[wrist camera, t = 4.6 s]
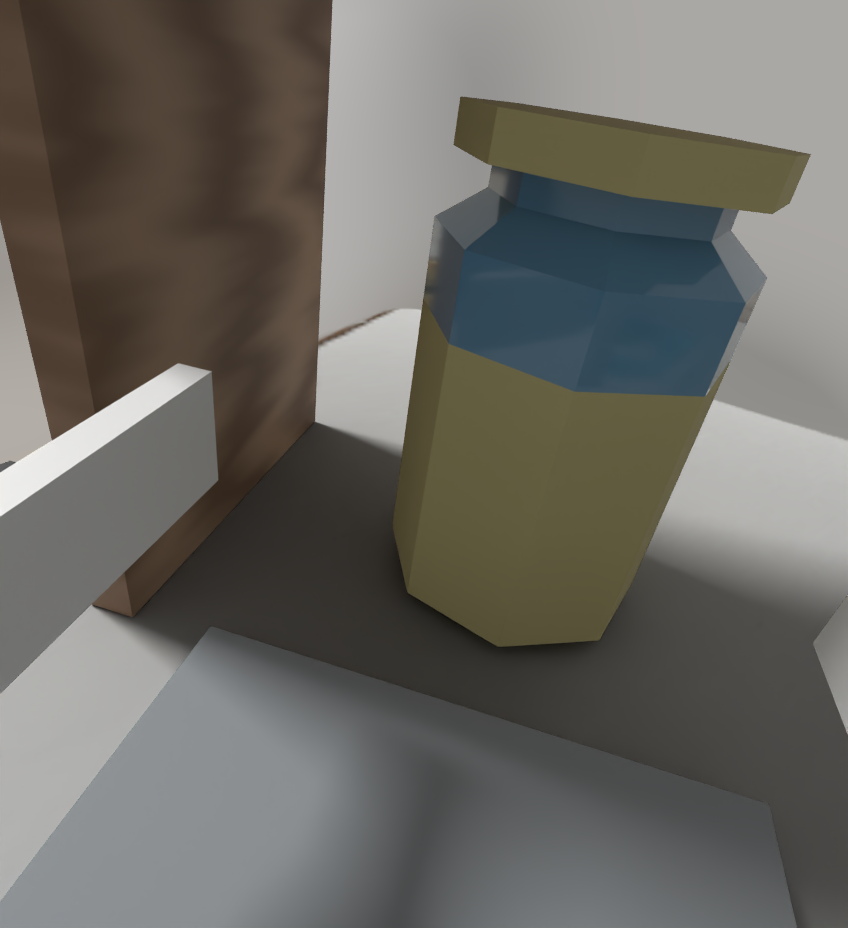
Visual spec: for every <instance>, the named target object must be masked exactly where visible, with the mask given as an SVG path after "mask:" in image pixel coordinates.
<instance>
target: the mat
mask: <svg viewBox="0 0 848 928" xmlns="http://www.w3.org/2000/svg"><path fill="white" fill-rule="evenodd" d="M0 928H797V925H796V921H795V916H794V912H793V908H792V903H791V899H790V894H789V890H788V885H787V881H786V877H785V872H784V868H783V863H782V859H781V855H780V850H779V846H778V841H777V837H776V832H775V828H774V824H773V819H772V815H771V810H770V806H769V804H767V803H764V802H761V801H758V800H755V799H752V798H749V797H745V796H742V795H739V794H736V793H733V792H730V791H727V790H723V789H720V788H717V787H714V786H711V785H708V784H705V783H702V782H698V781H695V780H692V779H689V778H686V777H683V776H680V775H676V774H673V773H670V772H667V771H664V770H661V769H658V768H655V767H651V766H648V765H645V764H642V763H639V762H636V761H633V760H629V759H626V758H623V757H620V756H617V755H614V754H611V753H608V752H604V751H601V750H598V749H595V748H592V747H589V746H586V745H583V744H579V743H576V742H573V741H570V740H567V739H564V738H561V737H557V736H554V735H551V734H548V733H545V732H542V731H539V730H536V729H532V728H529V727H526V726H523V725H520V724H517V723H514V722H510V721H507V720H504V719H501V718H498V717H495V716H492V715H489V714H485V713H482V712H479V711H476V710H473V709H470V708H467V707H463V706H460V705H457V704H454V703H451V702H448V701H445V700H442V699H438V698H435V697H432V696H429V695H426V694H423V693H420V692H417V691H413V690H410V689H407V688H404V687H401V686H398V685H395V684H391V683H388V682H385V681H382V680H379V679H376V678H373V677H370V676H366V675H363V674H360V673H357V672H354V671H351V670H348V669H344V668H341V667H338V666H335V665H332V664H329V663H326V662H323V661H319V660H316V659H313V658H310V657H307V656H304V655H301V654H298V653H294V652H291V651H288V650H285V649H282V648H279V647H276V646H272V645H269V644H266V643H263V642H260V641H257V640H254V639H251V638H247V637H244V636H241V635H238V634H235V633H232V632H229V631H225V630H222V629H219V628H216V627H213V626H210V627H209V629H208V630H207V631H206V633H205V634H204V635H203V637H202V638H201V639H200V640H199V642H198V643H197V644H196V646H195V647H194V648H193V650H192V651H191V652H190V654H189V655H188V656H187V658H186V659H185V660H184V661H183V663H182V664H181V665H180V667H179V668H178V669H177V671H176V672H175V673H174V675H173V676H172V677H171V678H170V680H169V681H168V682H167V684H166V685H165V686H164V688H163V689H162V690H161V692H160V693H159V694H158V696H157V697H156V698H155V699H154V701H153V702H152V703H151V705H150V706H149V707H148V709H147V710H146V711H145V713H144V714H143V715H142V716H141V718H140V719H139V720H138V722H137V723H136V724H135V726H134V727H133V728H132V730H131V731H130V732H129V734H128V735H127V736H126V737H125V739H124V740H123V741H122V743H121V744H120V745H119V747H118V748H117V749H116V751H115V752H114V753H113V755H112V756H111V757H110V758H109V760H108V761H107V762H106V764H105V765H104V766H103V768H102V769H101V770H100V772H99V773H98V774H97V775H96V777H95V778H94V779H93V781H92V782H91V783H90V785H89V786H88V787H87V789H86V790H85V791H84V793H83V794H82V795H81V796H80V798H79V799H78V800H77V802H76V803H75V804H74V806H73V807H72V808H71V810H70V811H69V812H68V813H67V815H66V816H65V817H64V819H63V820H62V821H61V823H60V824H59V825H58V827H57V828H56V829H55V831H54V832H53V833H52V834H51V836H50V837H49V838H48V840H47V841H46V842H45V844H44V845H43V846H42V848H41V849H40V850H39V852H38V853H37V854H36V855H35V857H34V858H33V859H32V861H31V862H30V863H29V865H28V866H27V867H26V869H25V870H24V871H23V872H22V874H21V875H20V876H19V878H18V879H17V880H16V882H15V883H14V884H13V886H12V887H11V888H10V890H9V891H8V892H7V893H6V895H5V896H4V897H3V899H2V900H1V901H0Z"/></svg>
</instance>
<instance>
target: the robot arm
mask: <svg viewBox="0 0 848 928" xmlns="http://www.w3.org/2000/svg"><path fill="white" fill-rule="evenodd" d="M217 481H218V467H217V451H216V435H215V419H214V403H213V387H212V371H208V370H204V369H200V368H195V367H191V366H187V365H183V364H179V363H178V364H176V365H174V366H173V367H171V368H170V369H168V370H166V371H165V372H163V373H161V374H160V375H158V376H157V377H155V378H153V379H152V380H150V381H148V382H147V383H145V384H144V385H142V386H140V387H139V388H137V389H135V390H134V391H132V392H130V393H129V394H127V395H126V396H124V397H122V398H121V399H119V400H117V401H116V402H114V403H113V404H111V405H109V406H108V407H106V408H104V409H103V410H101V411H100V412H98V413H96V414H95V415H93V416H91V417H90V418H88V419H86V420H85V421H83V422H82V423H80V424H78V425H77V426H75V427H73V428H72V429H70V430H69V431H67V432H65V433H64V434H62V435H60V436H59V437H57V438H56V439H54V440H52V441H51V442H49V443H48V444H46V445H44V446H42V447H41V448H39V449H38V450H36V451H35V452H33V453H31V454H29V455H28V456H26V457H25V458H23V459H21V460H20V461H18V462H12V461H9V462H5V463H3V464H0V693H1V692H2V691H4V690H5V689H6V688H7V687H8V686H9V685H10V684H11V683H12V682H13V681H14V680H15V679H16V678H17V677H18V676H19V675H20V674H21V673H22V672H23V671H24V670H25V669H26V668H27V667H28V666H29V665H30V664H31V663H32V662H33V661H34V660H35V659H36V658H37V657H38V656H39V655H40V654H41V653H42V652H43V651H44V650H45V649H46V648H47V647H48V646H49V645H50V644H51V643H53V642H54V641H55V640H56V639H57V638H58V637H59V636H60V635H61V634H62V633H63V632H64V631H65V630H66V629H67V628H68V627H69V626H70V625H71V624H72V623H73V622H74V621H75V620H76V619H77V618H78V617H79V616H80V615H81V614H82V613H83V612H84V611H85V610H86V609H87V608H88V607H89V606H90V605H91V604H92V603H93V602H94V601H95V600H96V599H97V598H98V597H99V596H101V595H102V594H103V593H104V592H105V591H106V590H107V589H108V588H109V587H110V586H111V585H112V584H113V583H114V582H115V581H116V580H117V579H118V578H119V577H120V576H121V575H122V574H123V573H124V572H125V571H126V570H127V569H128V568H129V567H130V566H131V565H132V564H133V563H134V562H135V561H136V560H137V559H138V558H139V557H140V556H141V555H142V554H143V553H144V552H145V551H146V550H147V549H148V548H150V547H151V546H152V545H153V544H154V543H155V542H156V541H157V540H158V539H159V538H160V537H161V536H162V535H163V534H164V533H165V532H166V531H167V530H168V529H169V528H170V527H171V526H172V525H173V524H174V523H175V522H176V521H177V520H178V519H179V518H180V517H181V516H182V515H183V514H184V513H185V512H186V511H187V510H188V509H189V508H190V507H191V506H192V505H193V504H194V503H195V502H196V501H198V500H199V499H200V498H201V497H202V496H203V495H204V494H205V493H206V492H207V491H208V490H209V489H210V488H211V487H212V486H213V485H214V484H215V483H216V482H217ZM813 645H814V648H815V651H816V653H817V656H818V658H819V661H820V664H821V666H822V669H823V671H824V674H825V677H826V679H827V682H828V685H829V687H830V690H831V692H832V695H833V698H834V700H835V703H836V705H837V708H838V711H839V713H840V716H841V718H842V721H843V724H844V726H845V729H846V732H847V734H848V595H847V596H846V598H845V599H844V601H843V602H842V603H841V605H840V606H839V608H838V609H837V610H836V612H835V613H834V614H833V616H832V617H831V619H830V620H829V621H828V623H827V624H826V625H825V627H824V628H823V630H822V631H821V632H820V634H819V635H818V637H817V638H816V639H815V641H814V642H813Z"/></svg>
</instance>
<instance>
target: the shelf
mask: <svg viewBox="0 0 848 928" xmlns="http://www.w3.org/2000/svg"><path fill="white" fill-rule="evenodd" d="M331 21H332V0H0V221H1V225H2V229H3V234H4V238H5V242H6V246H7V251H8V255H9V259H10V263H11V268H12V272H13V276H14V280H15V285H16V289H17V293H18V297H19V301H20V306H21V310H22V314H23V319H24V323H25V327H26V331H27V336H28V340H29V344H30V348H31V353H32V357H33V361H34V365H35V369H36V374H37V378H38V382H39V387H40V390H41V395H42V400H43V404H44V408H45V412H46V417H47V421H48V425H49V429H50V433H51V438H52V440H54V439H56V438H57V437H59V436H60V435H62V434H64V433H65V432H67V431H69V430H70V429H72V428H73V427H75V426H77V425H78V424H80V423H82V422H83V421H85V420H86V419H88V418H90V417H91V416H93V415H95V414H96V413H98V412H100V411H101V410H103V409H104V408H106V407H108V406H109V405H111V404H113V403H114V402H116V401H117V400H119V399H121V398H122V397H124V396H126V395H127V394H129V393H130V392H132V391H134V390H135V389H137V388H139V387H140V386H142V385H144V384H145V383H147V382H148V381H150V380H152V379H153V378H155V377H157V376H158V375H160V374H161V373H163V372H165V371H166V370H168V369H170V368H171V367H173V366H174V365H176V364H178V363H179V364H183V365H187V366H191V367H195V368H200V369H204V370H208V371H212V387H213V403H214V419H215V435H216V451H217V467H218V481H217V482H216V483H215V484H214V485H213V486H212V487H211V488H210V489H209V490H208V491H207V492H206V493H205V494H204V495H203V496H202V497H201V498H200V499H199V500H198V501H196V502H195V503H194V504H193V505H192V506H191V507H190V508H189V509H188V510H187V511H186V512H185V513H184V514H183V515H182V516H181V517H180V518H179V519H178V520H177V521H176V522H175V523H174V524H173V525H172V526H171V527H170V528H169V529H168V530H167V531H166V532H165V533H164V534H163V535H162V536H161V537H160V538H159V539H158V540H157V541H156V542H155V543H154V544H153V545H152V546H151V547H150V548H148V549H147V550H146V551H145V552H144V553H143V554H142V555H141V556H140V557H139V558H138V559H137V560H136V561H135V562H134V563H133V564H132V565H131V566H130V567H129V568H128V569H127V570H126V571H125V572H124V573H123V574H122V575H121V576H120V577H119V578H118V579H117V580H116V581H115V582H114V583H113V584H112V585H111V586H110V587H109V588H108V589H107V590H106V591H105V592H104V593H103V594H102V595H101V596H99V597H98V598H97V599H96V600H95V601H94V602H93V603H92V605H95V606H98V607H102V608H105V609H108V610H111V611H114V612H117V613H120V614H123V615H126V616H129V617H132V618H133V617H134V616H135V615H136V613H137V612H138V611H139V610H140V609H141V608H142V607H143V606H144V605H145V604H146V603H147V602H148V600H149V599H150V598H151V597H152V596H153V595H154V594H155V593H156V592H157V591H158V590H159V589H160V588H161V586H162V585H163V584H164V583H165V582H166V581H167V580H168V579H169V578H170V577H171V576H172V575H173V573H174V572H175V571H176V570H177V569H178V568H179V567H180V566H181V565H182V564H183V563H184V562H185V561H186V559H187V558H188V557H189V556H190V555H191V554H192V553H193V552H194V551H195V550H196V549H197V548H198V547H199V545H200V544H201V543H202V542H203V541H204V540H205V539H206V538H207V537H208V536H209V535H210V534H211V532H212V531H213V530H214V529H215V528H216V527H217V526H218V525H219V524H220V523H221V522H222V521H223V520H224V518H225V517H226V516H227V515H228V514H229V513H230V512H231V511H232V510H233V509H234V508H235V507H236V505H237V504H238V503H239V502H240V501H241V500H242V499H243V498H244V497H245V496H246V495H247V494H248V493H249V491H250V490H251V489H252V488H253V487H254V486H255V485H256V484H257V483H258V482H259V481H260V480H261V478H262V477H263V476H264V475H265V474H266V473H267V472H268V471H269V470H270V469H271V468H272V467H273V466H274V464H275V463H276V462H277V461H278V460H279V459H280V458H281V457H282V456H283V455H284V454H285V453H286V452H287V450H288V449H289V448H290V447H291V446H292V445H293V444H294V443H295V442H296V441H297V440H298V439H299V437H300V436H301V435H302V434H303V433H304V432H305V431H306V430H307V429H308V428H309V427H310V426H311V425H312V423H313V422H314V421H315V407H316V382H317V358H318V334H319V310H320V285H321V262H322V237H323V214H324V189H325V165H326V142H327V116H328V93H329V67H330V45H331Z"/></svg>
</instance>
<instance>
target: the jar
mask: <svg viewBox="0 0 848 928" xmlns="http://www.w3.org/2000/svg"><path fill="white" fill-rule="evenodd" d="M454 145H455V146H457V147H458V148H460V149H462V150H464V151H465V152H467V153H469V154H471V155H472V156H475V157H476V158H478V159H479V160H481V161H483V162H485V163H487V164H489V165H492V169H491V175H490V180H489V186H488V187H487V188H486V189H484V190H482V191H480V192H478V193H477V194H475V195H473V196H471V197H469V198H467V199H465V200H464V201H462V202H460V203H458V204H456V205H454V206H453V207H451V208H449V209H447V210H445V211H444V212H441V213H440V214H438V215H436V216H435V217H434V225H433V232H432V240H431V248H430V254H429V262H428V269H427V276H426V284H425V291H424V298H423V305H422V313H421V320H420V327H419V335H418V342H417V349H416V357H415V364H414V371H413V379H412V386H411V393H410V400H409V408H408V415H407V422H406V430H405V437H404V444H403V452H402V459H401V466H400V474H399V481H398V488H397V496H396V503H395V510H394V518H393V525H392V526H393V531H394V535H395V540H396V544H397V549H398V553H399V558H400V562H401V566H402V571H403V575H404V580H405V584H406V589H407V593H409V594H411V595H412V596H414V597H416V598H417V599H419V600H421V601H422V602H424V603H426V604H427V605H429V606H431V607H432V608H434V609H436V610H437V611H439V612H441V613H442V614H444V615H446V616H447V617H449V618H451V619H452V620H454V621H455V622H457V623H459V624H460V625H462V626H464V627H465V628H467V629H469V630H470V631H472V632H474V633H475V634H477V635H479V636H480V637H482V638H484V639H485V640H487V641H489V642H490V643H492V644H494V645H495V646H497V647H506V646H521V645H536V644H551V643H567V642H582V641H597V640H600V638H601V636H602V635H603V633H604V631H605V629H606V628H607V626H608V624H609V622H610V621H611V619H612V617H613V615H614V613H615V612H616V610H617V608H618V606H619V605H620V603H621V601H622V599H623V598H624V596H625V594H626V592H627V591H628V589H629V587H630V585H631V584H632V581H633V579H634V577H635V575H636V572H637V570H638V568H639V566H640V563H641V561H642V559H643V557H644V554H645V552H646V550H647V548H648V545H649V543H650V541H651V539H652V536H653V534H654V532H655V530H656V527H657V525H658V523H659V521H660V518H661V516H662V514H663V512H664V509H665V507H666V505H667V503H668V500H669V498H670V496H671V494H672V491H673V489H674V487H675V485H676V482H677V480H678V478H679V476H680V473H681V471H682V469H683V467H684V464H685V462H686V460H687V458H688V455H689V453H690V451H691V449H692V446H693V444H694V442H695V440H696V437H697V435H698V433H699V431H700V428H701V426H702V424H703V422H704V419H705V417H706V415H707V413H708V410H709V408H710V406H711V404H712V401H713V399H714V396H715V394H716V392H717V390H718V387H719V385H720V383H721V381H722V379H723V376H724V374H725V372H726V370H727V368H728V365H729V363H730V361H731V358H732V356H733V354H734V352H735V349H736V347H737V345H738V343H739V340H740V338H741V336H742V334H743V331H744V329H745V327H746V325H747V322H748V320H749V318H750V316H751V313H752V311H753V309H754V307H755V304H756V302H757V300H758V298H759V295H760V293H761V291H762V289H763V286H764V284H765V282H766V280H767V277H766V276H765V274H764V273H763V272H762V271H761V269H760V268H759V266H758V265H757V264H756V263H755V261H754V260H753V259H752V257H751V256H750V255H749V253H748V252H747V251H746V250H745V248H744V247H743V246H742V245H741V243H740V242H739V241H738V239H737V238H736V237H735V235H734V234H733V233H732V231H731V229H732V226H733V224H734V221H735V219H736V216H737V213H738V211H739V210H743V211H751V212H760V213H768V214H773V213H775V212H776V211H778V210H780V209H781V208H783V207H784V206H786V205H787V204H789V203H790V201H791V199H792V197H793V194H794V192H795V190H796V187H797V185H798V183H799V180H800V178H801V176H802V174H803V171H804V169H805V167H806V164H807V162H808V160H809V157H810V154H807V153H801V152H796V151H792V150H786V149H781V148H777V147H772V146H767V145H762V144H757V143H751V142H747V141H742V140H737V139H732V138H726V137H721V136H715V135H709V134H703V133H698V132H692V131H686V130H680V129H675V128H669V127H663V126H657V125H651V124H645V123H640V122H634V121H628V120H622V119H616V118H610V117H604V116H597V115H590V114H584V113H578V112H570V111H564V110H558V109H552V108H545V107H539V106H532V105H526V104H519V103H511V102H503V101H494V100H485V99H477V98H468V97H460V104H459V111H458V118H457V126H456V132H455V139H454Z"/></svg>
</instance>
